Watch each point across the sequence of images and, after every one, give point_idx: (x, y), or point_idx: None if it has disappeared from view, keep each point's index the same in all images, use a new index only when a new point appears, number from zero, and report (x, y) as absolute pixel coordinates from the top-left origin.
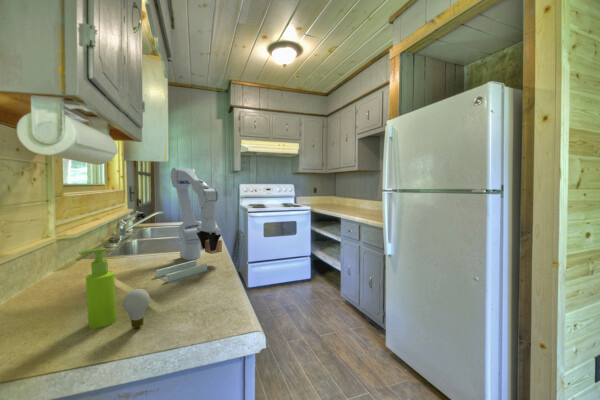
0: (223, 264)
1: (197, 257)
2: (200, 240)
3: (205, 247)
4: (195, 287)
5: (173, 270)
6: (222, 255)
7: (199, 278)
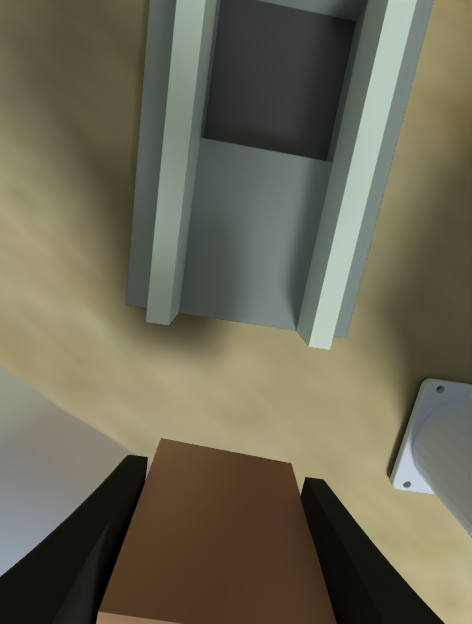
0: None
1: (428, 459)
2: (409, 603)
3: (292, 508)
4: (13, 66)
5: (348, 121)
6: None
7: None
